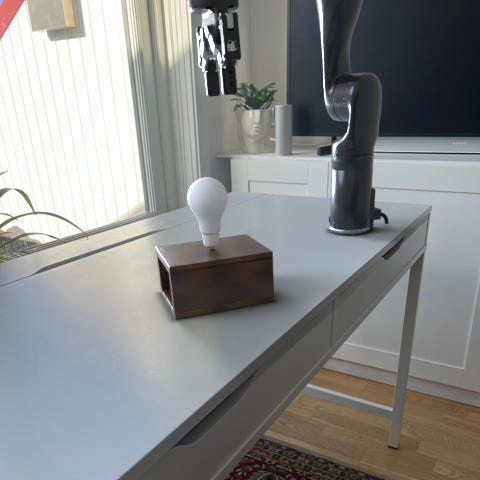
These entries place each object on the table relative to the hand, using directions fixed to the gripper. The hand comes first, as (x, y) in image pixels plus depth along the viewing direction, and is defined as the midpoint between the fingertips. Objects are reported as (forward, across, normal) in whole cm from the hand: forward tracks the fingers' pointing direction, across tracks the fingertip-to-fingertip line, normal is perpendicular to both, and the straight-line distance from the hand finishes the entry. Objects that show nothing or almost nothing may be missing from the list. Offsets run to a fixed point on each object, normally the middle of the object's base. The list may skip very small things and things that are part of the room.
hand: (221, 95), depth 77 cm
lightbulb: (+22, -10, +7) cm, 25 cm away
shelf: (+30, -10, +7) cm, 32 cm away
